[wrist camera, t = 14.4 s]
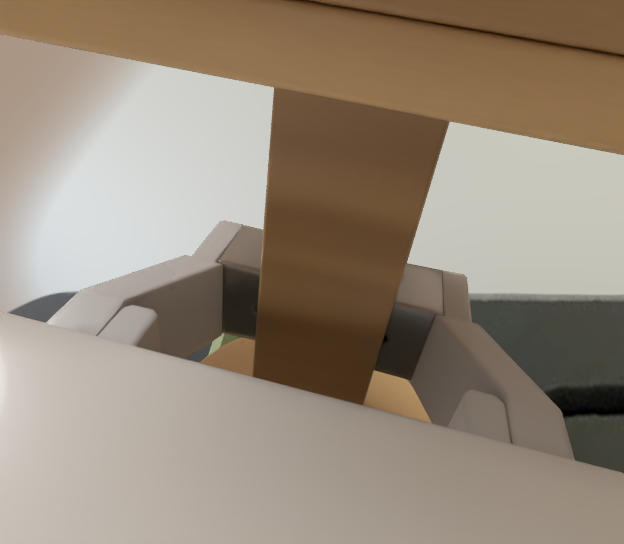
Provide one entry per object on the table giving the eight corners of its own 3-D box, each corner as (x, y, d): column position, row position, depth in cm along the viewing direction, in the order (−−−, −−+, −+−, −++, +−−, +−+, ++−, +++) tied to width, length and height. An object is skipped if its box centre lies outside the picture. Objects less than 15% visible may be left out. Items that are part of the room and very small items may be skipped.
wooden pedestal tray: (454, 669, 9) (1306, -152, 2) (73, 549, 10) (-281, -334, 3) (445, 368, 15) (638, -72, 8) (217, 311, 16) (220, -133, 9)
